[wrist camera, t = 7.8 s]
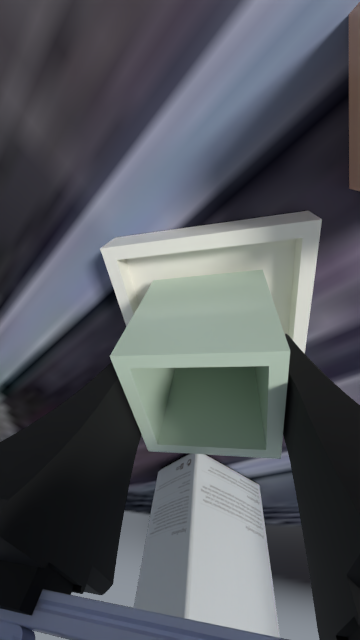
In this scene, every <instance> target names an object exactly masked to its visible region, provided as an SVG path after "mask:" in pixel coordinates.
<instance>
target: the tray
mask: <svg viewBox="0 0 360 640" xmlns="http://www.w3.org/2000/svg"><path fill="white" fill-rule="evenodd" d="M321 223H322V219H321V218H319V217H318V216H316V215H315V214H313V213H311V212H310V211H302V212H294V213H287V214H280V215H273V216H266V217H259V218H252V219H244V220H237V221H230V222H223V223H216V224H209V225H202V226H195V227H187V228H180V229H173V230H166V231H159V232H152V233H145V234H138V235H130V236H123V237H116V238H114V239H112V240H111V241H110V242H108V243H107V244H106V245H104V246H103V247H102V248H100V250H101V253H102V256H103V259H104V262H105V265H106V267H107V270H108V273H109V276H110V279H111V282H112V285H113V288H114V291H115V294H116V297H117V300H118V303H119V306H120V309H121V312H122V315H123V318H124V321H125V324H126V327H127V325H128V324H129V322H130V320H131V318H132V317H133V315H134V313H135V312H136V310H137V308H138V306H139V305H140V303H141V301H142V299H143V298H144V296H145V294H146V292H147V291H148V289H149V287H150V286H151V284H152V282H153V280H161V279H171V278H181V277H192V276H202V275H212V274H223V273H233V272H243V271H253V270H263V272H264V275H265V278H266V281H267V284H268V287H269V290H270V293H271V296H272V299H273V302H274V305H275V307H276V310H277V313H278V316H279V319H280V322H281V325H282V328H283V331H284V334H287V335H289V336H290V338H291V339H292V340H293V341H294V342H295V343H296V345H297V346H298V347H299V348H300V349H301V350H302V351H303V353H304V354H305V347H306V339H307V331H308V324H309V316H310V308H311V300H312V293H313V285H314V277H315V270H316V262H317V254H318V247H319V239H320V231H321Z"/></svg>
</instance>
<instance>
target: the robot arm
mask: <svg viewBox="0 0 360 640" xmlns="http://www.w3.org/2000/svg"><path fill="white" fill-rule="evenodd" d="M285 337H286V340H287V343H288V346H289V348H290V361H289V372H288V383H287V395H286V406H285V417H284V428H283V435H284V439H285V442H286V446H287V450H288V454H289V458H290V462H291V468H292V473H293V479H294V484H295V490H296V495H297V501H298V507H299V513H300V518H301V524H302V530H303V536H304V543H305V548H306V554H307V561H308V568H309V574H310V580H311V587H312V593H313V600H314V607H315V614H316V621H317V628H318V633H319V638H320V640H360V405H359V404H357V403H356V402H355V401H354V400H353V399H351V398H350V397H349V396H348V395H347V394H346V393H344V392H343V391H342V390H341V389H340V388H339V387H338V386H337V385H335V384H334V383H333V382H332V381H331V380H330V379H329V378H328V377H327V376H326V375H325V374H324V373H323V372H322V371H321V370H320V369H319V368H318V367H317V366H316V365H315V364H314V363H313V362H312V361H311V360H310V359H309V358H308V357H307V356H306V355H305V354H304V353H303V351H302V350H301V349H300V348H299V347H298V346H297V345H296V343H295V342H294V341H293V340H292V339H291V338H290V336H289V335H287V334H285ZM140 437H141V432H140V429H139V427H138V424H137V422H136V419H135V417H134V415H133V412H132V410H131V407H130V405H129V402H128V400H127V398H126V395H125V393H124V390H123V388H122V385H121V383H120V381H119V378H118V376H117V373H116V371H115V368H114V366H113V363H112V362H111V363H110V364H109V365H108V366H107V367H106V368H105V369H104V370H103V371H102V372H101V373H99V374H98V375H97V376H96V377H95V378H94V379H92V380H91V381H90V382H89V383H88V384H87V385H86V386H84V387H83V388H82V389H81V390H79V391H78V392H77V393H76V394H74V395H73V396H72V397H70V398H69V399H68V400H66V401H65V402H64V403H62V404H61V405H60V406H58V407H57V408H55V409H54V410H52V411H51V412H49V413H48V414H46V415H45V416H43V417H42V418H40V419H39V420H37V421H35V422H34V423H32V424H31V425H29V426H28V427H26V428H24V429H23V430H21V431H19V432H17V433H16V434H14V435H12V436H11V437H9V438H7V439H5V440H3V441H2V442H0V640H35V634H34V632H33V631H37V632H41V633H45V634H49V635H53V636H57V637H61V638H65V639H69V640H288V639H283V638H279V637H274V636H269V635H264V634H259V633H254V632H249V631H244V630H239V629H235V628H230V627H225V626H220V625H215V624H210V623H205V622H200V621H195V620H191V619H186V618H181V617H176V616H171V615H166V614H161V613H156V612H151V611H147V610H142V609H137V608H132V607H126V606H122V605H117V604H112V603H107V602H103V601H97V600H92V599H88V598H82V597H78V596H73V595H71V592H76V593H80V594H83V592H88V593H93V594H98V595H103V594H104V593H105V592H106V591H107V590H108V589H109V588H110V587H111V586H112V584H113V579H114V571H115V565H116V558H117V551H118V545H119V538H120V532H121V526H122V520H123V514H124V509H125V503H126V498H127V493H128V488H129V483H130V478H131V473H132V469H133V464H134V459H135V455H136V451H137V447H138V444H139V440H140ZM32 630H33V631H32Z"/></svg>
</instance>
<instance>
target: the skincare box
mask: <svg viewBox="0 0 360 640" xmlns="http://www.w3.org/2000/svg"><path fill="white" fill-rule="evenodd" d="M134 608H137V609H142V610H147V611H151V612H156V613H161V614H166V615H171V616H176V617H181V618H186V619H191V620H195V621H200V622H205V623H210V624H215V625H220V626H225V627H230V628H235V629H239V630H244V631H249V632H254V633H259V634H264V635H269V636H274V637H279V638H280V634H279V627H278V619H277V612H276V604H275V597H274V589H273V582H272V575H271V567H270V560H269V553H268V546H267V538H266V530H265V523H264V516H263V508H262V501H261V493H260V486H259V484H257V483H255V482H253V481H252V480H250V479H248V478H246V477H244V476H243V475H241V474H239V473H237V472H236V471H234V470H232V469H230V468H228V467H227V466H225V465H223V464H221V463H219V462H218V461H216V460H214V459H212V458H211V457H209V456H207V455H205V454H188V455H186V456H185V457H183V458H181V459H179V460H177V461H175V462H173V463H172V464H170V465H168V466H166V467H164V468H163V469H161V470H160V471H159V472H158V475H157V481H156V487H155V492H154V497H153V503H152V508H151V514H150V520H149V525H148V531H147V536H146V541H145V547H144V553H143V558H142V564H141V569H140V575H139V581H138V586H137V592H136V597H135V603H134Z"/></svg>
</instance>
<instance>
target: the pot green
mask: <svg viewBox="0 0 360 640" xmlns="http://www.w3.org/2000/svg"><path fill="white" fill-rule="evenodd" d="M110 359H111V361H112V363H113V366H114V368H115V371H116V373H117V376H118V378H119V381H120V383H121V385H122V388H123V390H124V393H125V395H126V398H127V400H128V402H129V405H130V407H131V410H132V412H133V415H134V417H135V419H136V422H137V424H138V427H139V429H140V432H141V434H142V436H143V439H144V441H145V444H146V446H147V449H148V451H155V452H173V453H190V454H207V455H224V456H241V457H259V458H276V459H281V450H282V439H283V428H284V417H285V406H286V395H287V383H288V372H289V361H290V348H289V346H288V343H287V340H286V337H285V334H284V331H283V328H282V325H281V322H280V319H279V316H278V313H277V310H276V307H275V305H274V302H273V299H272V296H271V293H270V290H269V287H268V284H267V281H266V278H265V275H264V272H263V270H253V271H243V272H233V273H223V274H212V275H202V276H192V277H181V278H171V279H161V280H153V282H152V284H151V286H150V287H149V289H148V291H147V292H146V294H145V296H144V298H143V299H142V301H141V303H140V305H139V306H138V308H137V310H136V312H135V313H134V315H133V317H132V318H131V320H130V322H129V324H128V325H127V327H126V329H125V331H124V332H123V334H122V336H121V337H120V339H119V341H118V343H117V344H116V346H115V348H114V350H113V351H112V353H111V355H110Z"/></svg>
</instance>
